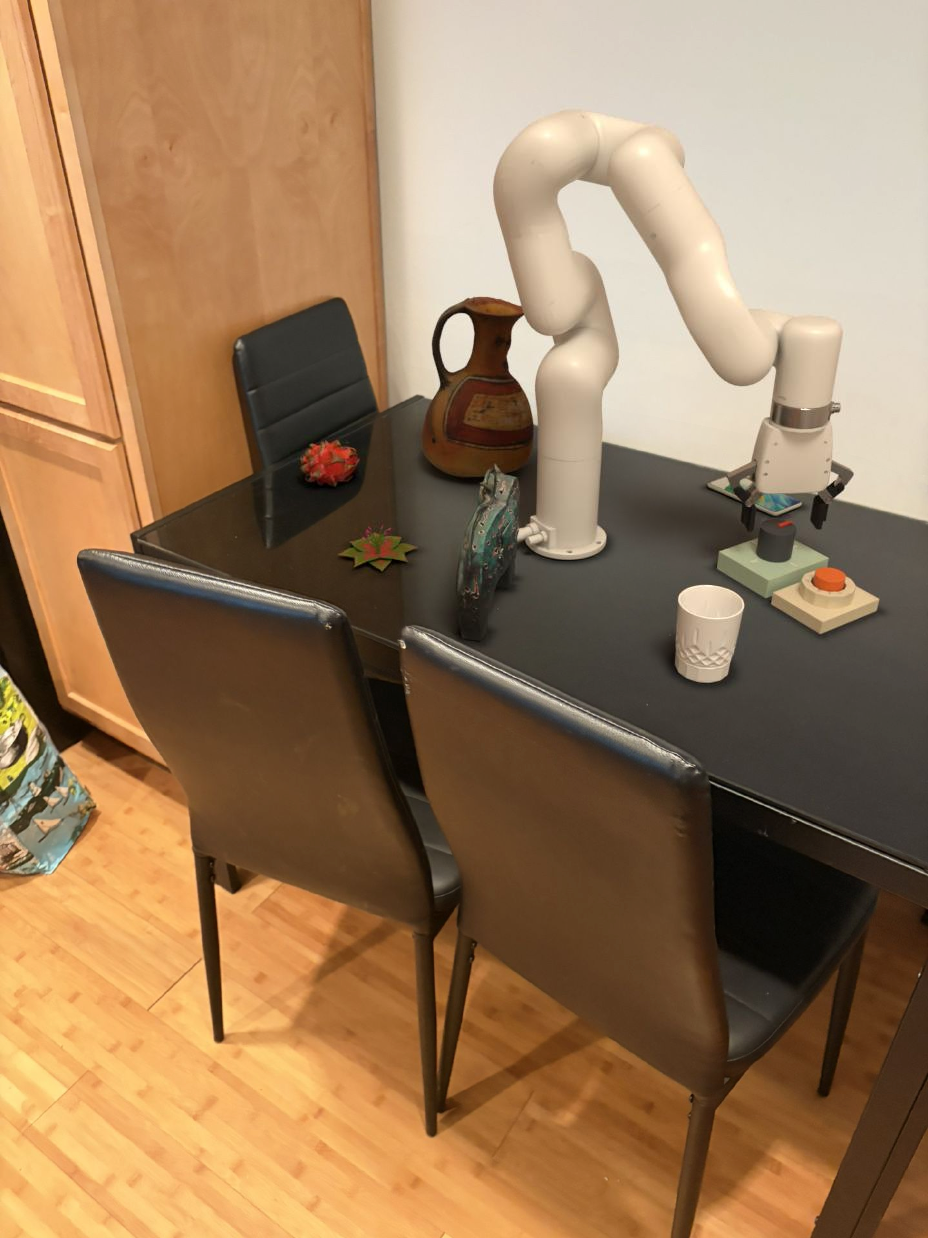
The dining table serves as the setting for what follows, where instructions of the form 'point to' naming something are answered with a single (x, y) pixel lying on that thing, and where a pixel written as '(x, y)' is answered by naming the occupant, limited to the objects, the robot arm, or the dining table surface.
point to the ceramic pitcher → (479, 398)
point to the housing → (824, 604)
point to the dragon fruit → (329, 463)
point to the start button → (829, 579)
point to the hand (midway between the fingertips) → (781, 526)
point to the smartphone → (766, 503)
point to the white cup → (707, 632)
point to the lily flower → (378, 549)
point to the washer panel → (768, 567)
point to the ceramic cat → (487, 552)
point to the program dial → (776, 540)
